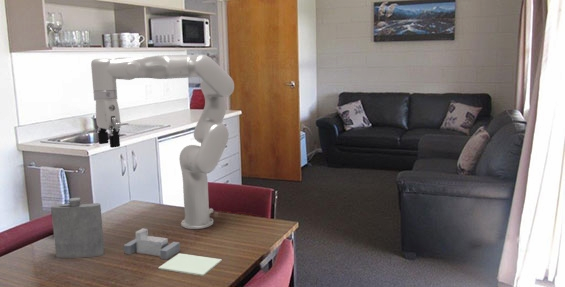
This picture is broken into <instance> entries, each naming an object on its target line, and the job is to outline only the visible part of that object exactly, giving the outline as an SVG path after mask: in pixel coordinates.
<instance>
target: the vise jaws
mask: <svg viewBox="0 0 565 287" xmlns="http://www.w3.org/2000/svg"><path fill="white" fill-rule="evenodd" d="M135 252H137V248H136V238H134V239H132V240H131V241H129V242H127V243H125V244H123V253H124V254H126V255H132V254H134V253H135ZM180 252H181V244H180V241H172V242H171V243H168V246H166V247H164V248H163V249H161V250H160V256H159V257H160V259H161V260H165V261H166V260H167V261H169V260H170V259H172V258H173V257H174V256H176V255H177V254H179V253H180Z"/></svg>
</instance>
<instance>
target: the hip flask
mask: <svg viewBox="0 0 565 287" xmlns="http://www.w3.org/2000/svg"><path fill="white" fill-rule="evenodd" d="M50 210H52V214H51V221H52V220H53V224H52V230H53V229H54V233H53V240H54V245H55V246H54V249H55V256H56V258H61V259H63V258H65V259H67V258H69V259H70V258H71V259H72V258H76V259H77V258H92V257H100V256H104V255H105V253H106V252H105V244H104V233H103V232H104V231H103V230H104V229H103V219H102V208H101V203H99V202H95V203H84V204H83V203H82V204H81V197H72V198H69V199H68V203H61V204H54V205H51V206H50Z"/></svg>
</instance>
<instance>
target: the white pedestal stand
mask: <svg viewBox="0 0 565 287" xmlns="http://www.w3.org/2000/svg"><path fill="white" fill-rule="evenodd" d="M134 233H135V239H136V248H137V251H136V253H137V254H143V255H148V256H149V255H151V256H156V257H160V250H161V249H163V248H164V247H166V246H168V245H169V241H168V240H169V239H168V238H167V237H160V236H151V235H149V232H148V228H141V229H139V230H136V231H134Z"/></svg>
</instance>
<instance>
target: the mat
mask: <svg viewBox="0 0 565 287" xmlns="http://www.w3.org/2000/svg"><path fill="white" fill-rule="evenodd" d="M222 261H223V260H222V259H221V258H215V257H209V256H208V257H207V256H201V255H195V254H194V255H193V254H187V253H180V252H178V253H176V254H175V255H174V256H172V257H171V258H169V259H168V260H167V261H165V262H164V263H163V264H162V265H160V266H159V267H158V270H162V271H168V272H169V271H170V272H176V273H181V274H188V275H194V276H200V277H204V276H206V274H208V273H209V272H210V271H211V270H212V269H214V268H215V267H216V266H217V265H218V264H220V263H221V262H222Z"/></svg>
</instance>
